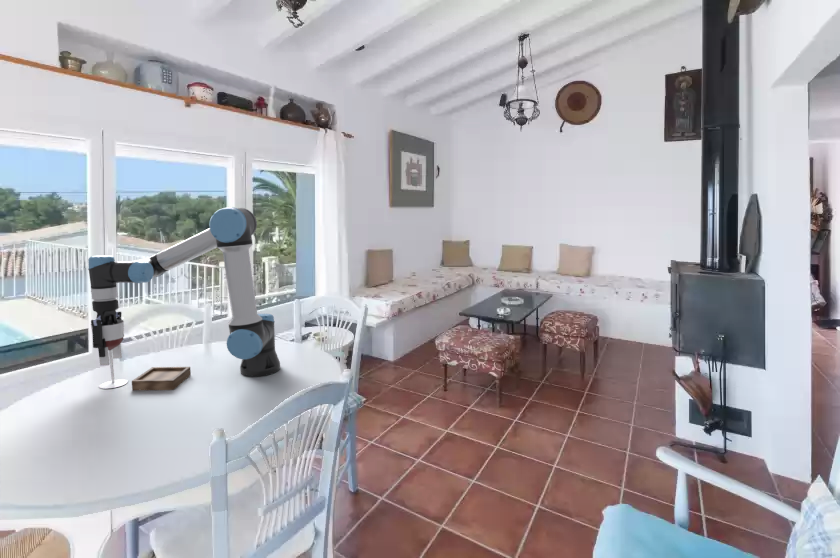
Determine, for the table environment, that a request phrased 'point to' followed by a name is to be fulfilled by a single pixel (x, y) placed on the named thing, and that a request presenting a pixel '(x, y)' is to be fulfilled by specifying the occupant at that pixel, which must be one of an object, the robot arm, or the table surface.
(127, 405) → the table surface
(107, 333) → the wineglass
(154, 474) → the table surface
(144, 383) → the tray
